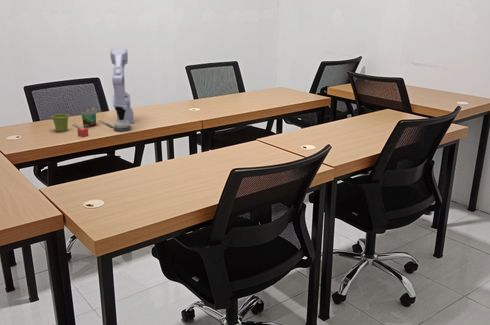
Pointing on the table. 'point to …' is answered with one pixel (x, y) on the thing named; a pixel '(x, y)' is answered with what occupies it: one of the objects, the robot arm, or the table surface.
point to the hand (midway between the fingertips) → (121, 119)
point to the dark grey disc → (122, 129)
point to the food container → (89, 117)
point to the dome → (121, 124)
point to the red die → (82, 132)
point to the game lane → (99, 121)
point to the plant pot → (60, 122)
